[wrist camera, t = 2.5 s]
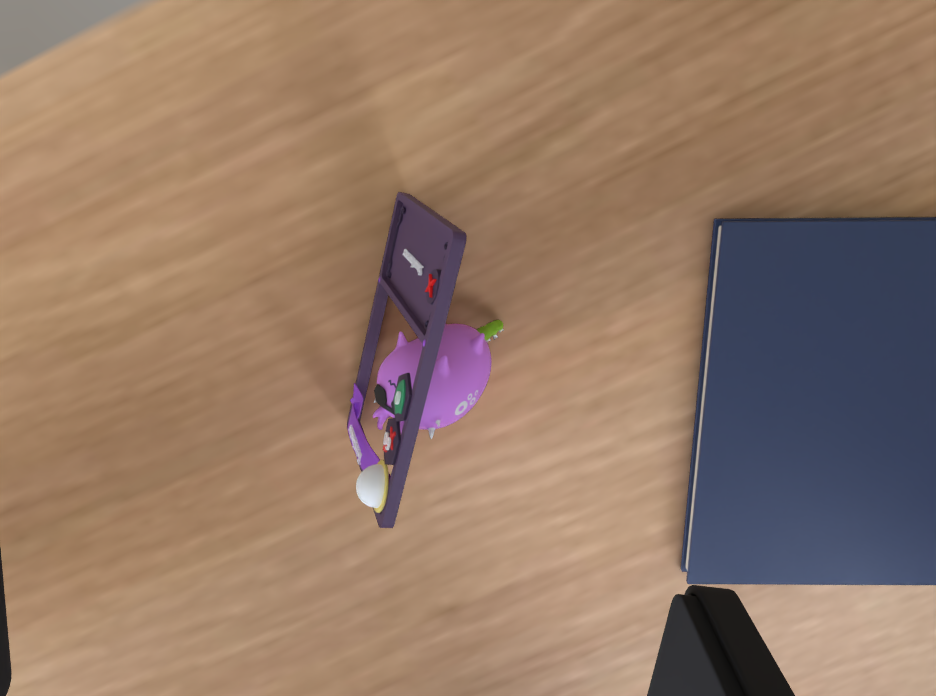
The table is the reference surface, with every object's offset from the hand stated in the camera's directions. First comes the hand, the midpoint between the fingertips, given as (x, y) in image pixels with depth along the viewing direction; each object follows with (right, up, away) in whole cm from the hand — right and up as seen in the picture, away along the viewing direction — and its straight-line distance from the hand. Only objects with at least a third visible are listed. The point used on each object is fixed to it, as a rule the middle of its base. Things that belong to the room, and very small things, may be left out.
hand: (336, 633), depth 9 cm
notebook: (+15, +2, +16) cm, 22 cm away
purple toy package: (+1, +5, +16) cm, 16 cm away
